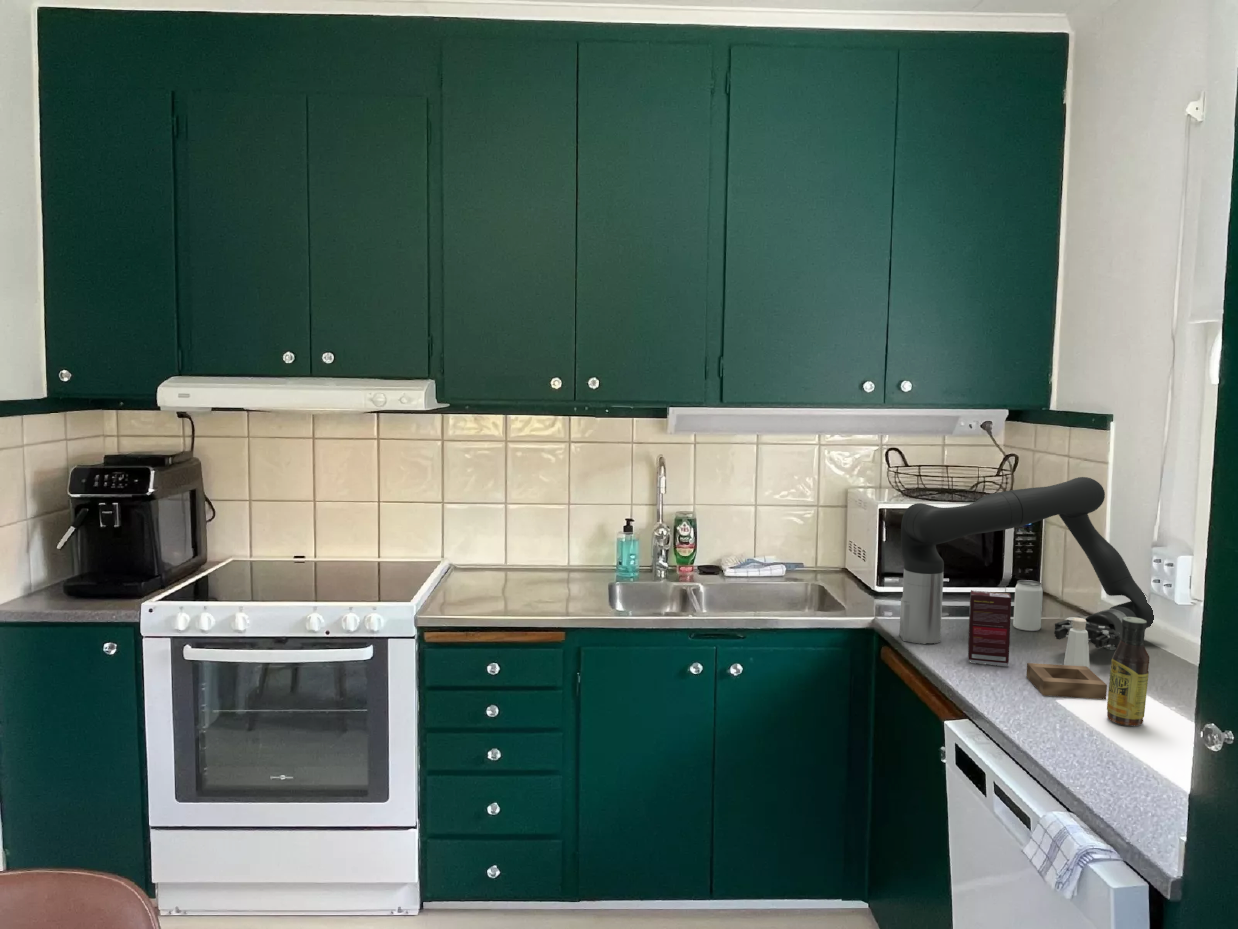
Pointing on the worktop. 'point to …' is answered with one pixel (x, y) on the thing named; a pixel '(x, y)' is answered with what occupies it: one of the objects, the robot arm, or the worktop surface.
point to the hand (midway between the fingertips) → (1077, 639)
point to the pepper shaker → (1077, 645)
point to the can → (1028, 605)
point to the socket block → (1066, 681)
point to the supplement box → (989, 628)
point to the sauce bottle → (1129, 675)
